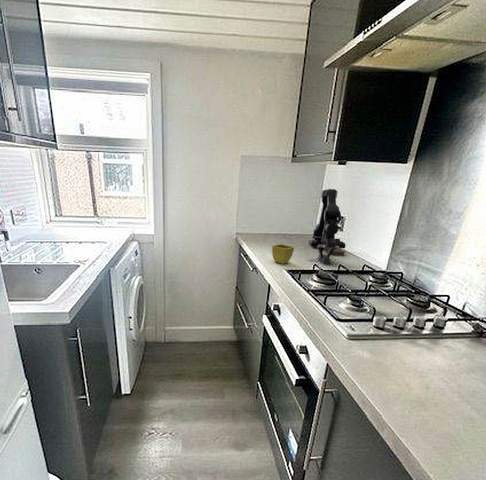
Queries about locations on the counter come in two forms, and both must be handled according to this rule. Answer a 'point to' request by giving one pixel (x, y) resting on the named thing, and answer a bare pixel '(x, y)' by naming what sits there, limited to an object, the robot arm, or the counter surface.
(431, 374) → the counter surface
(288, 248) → the flower pot
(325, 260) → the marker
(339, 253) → the stand
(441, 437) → the counter surface
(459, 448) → the counter surface
